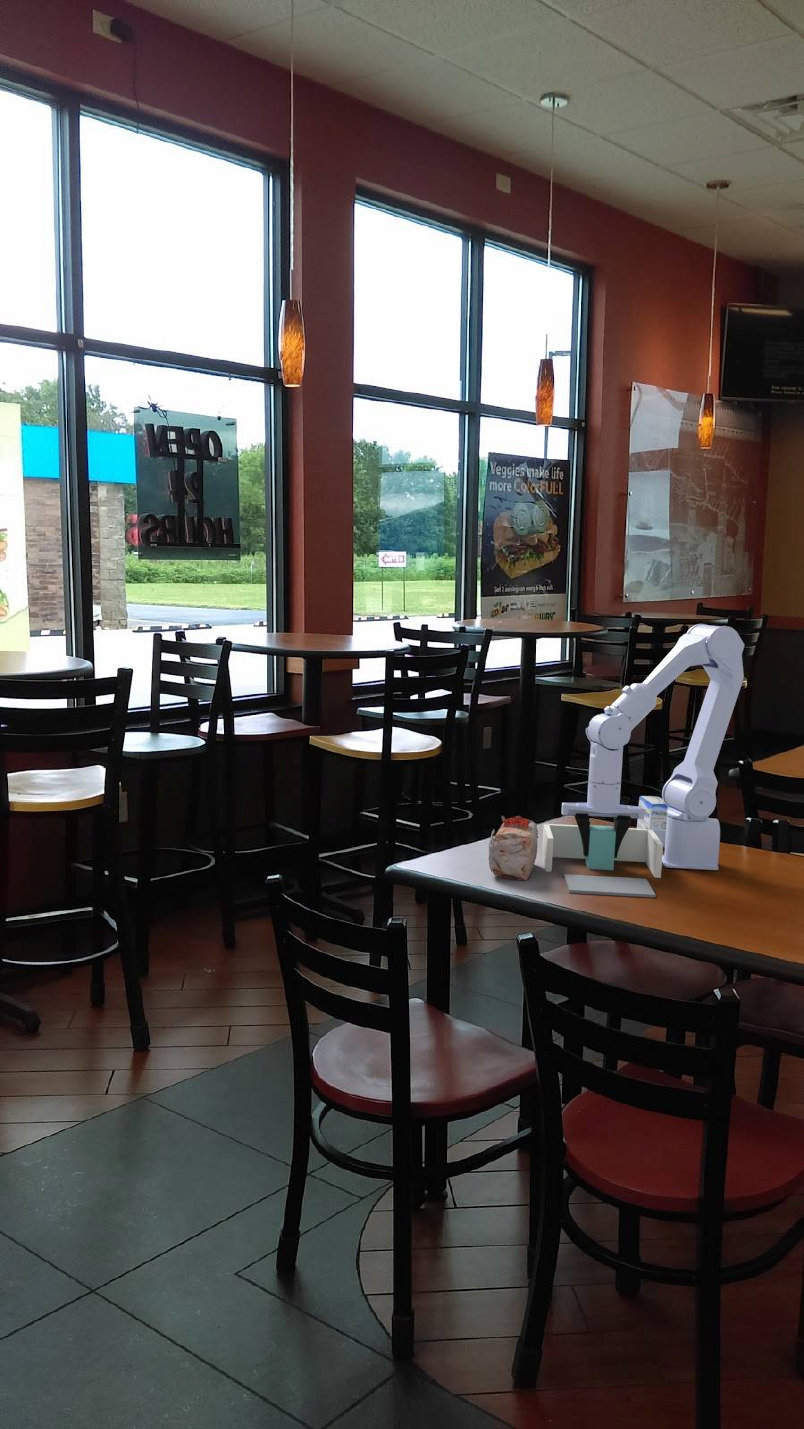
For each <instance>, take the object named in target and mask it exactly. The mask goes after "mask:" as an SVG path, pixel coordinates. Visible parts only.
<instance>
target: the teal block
mask: <svg viewBox="0 0 804 1429" xmlns="http://www.w3.org/2000/svg"><path fill="white" fill-rule="evenodd" d="M613 827H614V825H613V826H612V825H594V824H593V825H592V824H590V828H589V839H588V844H589V851H588V856H586V859H585V865H586V867H587V870H602V871H614V868H615V861H614V853H615V838H616V831H615V829H614V828H613Z"/></svg>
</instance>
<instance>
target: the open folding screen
mask: <svg viewBox="0 0 804 1429" xmlns="http://www.w3.org/2000/svg"><path fill="white" fill-rule="evenodd" d="M613 828H614V826H613ZM541 843H542V844H541V858H542V862H543V866H544V869H545V872H546V873H547V872H548V873H552V867H553V858H561V859H563V858H565V859H582V860H586V856H584V855H583V844H582V839H581V835H580V831H579V828H578V825H577V824H576V825H574V824H560V823H559V824H555V823H543V824H542V840H541ZM663 849H664V847H663V844H662V842H661V841H660V839H659V838H658V837H657V835H656V834H655V833H654V831H653V830H652V829H637V828H636V827H635V828H633V827H631V828H630V827H629V829H628V830H627V832H626V834H625V836H624V838H623V840H622V842H621V845H620V847H619V850H618V854H617V858H614V862H616V861H617V862H637V863H645V864H646V866H647V867H648V869H649V871H650V872H651V873H652V875H653V877H654V878H655V879H661V878H662V868H663V866H662V865H663V863H662V855H664V854H663V852H664V851H663Z"/></svg>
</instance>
